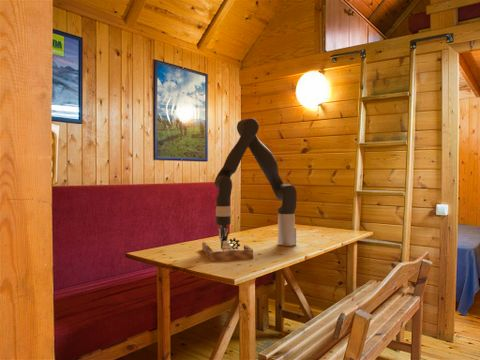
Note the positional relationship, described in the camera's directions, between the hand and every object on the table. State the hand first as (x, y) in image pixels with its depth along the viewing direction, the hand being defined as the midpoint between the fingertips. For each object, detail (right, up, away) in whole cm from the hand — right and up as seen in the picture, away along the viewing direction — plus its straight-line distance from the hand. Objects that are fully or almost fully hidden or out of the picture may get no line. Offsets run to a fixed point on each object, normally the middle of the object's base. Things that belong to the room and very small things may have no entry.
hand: (223, 249), depth 188 cm
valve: (+3, -2, -4) cm, 5 cm away
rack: (+2, -1, -5) cm, 6 cm away
